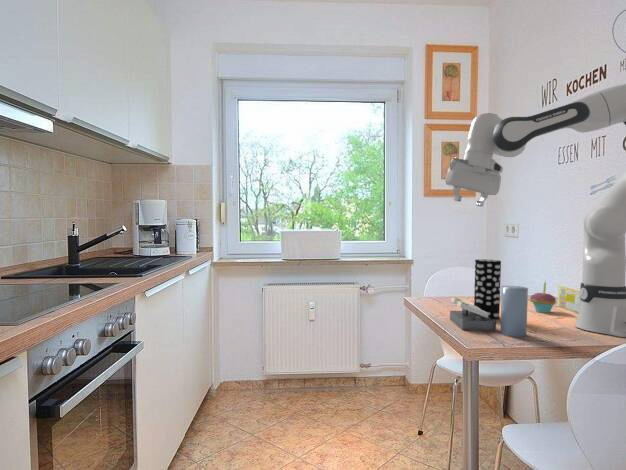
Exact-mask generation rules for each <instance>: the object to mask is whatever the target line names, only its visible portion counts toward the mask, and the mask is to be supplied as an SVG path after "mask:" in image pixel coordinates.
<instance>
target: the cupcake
mask: <svg viewBox="0 0 626 470" xmlns="http://www.w3.org/2000/svg"><path fill="white" fill-rule="evenodd" d="M546 286H547V282H546V280H545V281H544V283H543V291H542V292H536V293H534V294H532V295H530V297H529V298H530V299H529V300H530V302H531V303H532V304H533V306H534V310H535V312H537V313H541V314H549V313H551V311H552V308H553V306H554V305H555V304H557V303H556V302H557V301H556V298H555V297H554V296H553V295H552V294H550V293H547V292H546Z"/></svg>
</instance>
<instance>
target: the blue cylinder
mask: <svg viewBox="0 0 626 470" xmlns="http://www.w3.org/2000/svg"><path fill="white" fill-rule="evenodd" d="M528 294H529V288H528V287H525V286H519V285H501V293H500V334H501V335H503V336H506V335H507V336H506V337H510V336H512V337H511V338H525V337H527V331H528V330H527V328H528V325H527V324H528V301H529V300H528V297H529V296H528Z"/></svg>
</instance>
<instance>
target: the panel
mask: <svg viewBox="0 0 626 470" xmlns="http://www.w3.org/2000/svg"><path fill="white" fill-rule="evenodd" d="M449 320H450V321H451V322H453V324H455V325H456V326H457V327H458V328H460V330H462V331H482V332H483V331H485V332H486V331H487V332H496V331H497V321H496V320H493V319H491V318H490V317H487V318H486V317H484V316H481V315H479V314H476V313H473V312H471V311H468V310H466V309H463V308H461V310H449Z"/></svg>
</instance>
